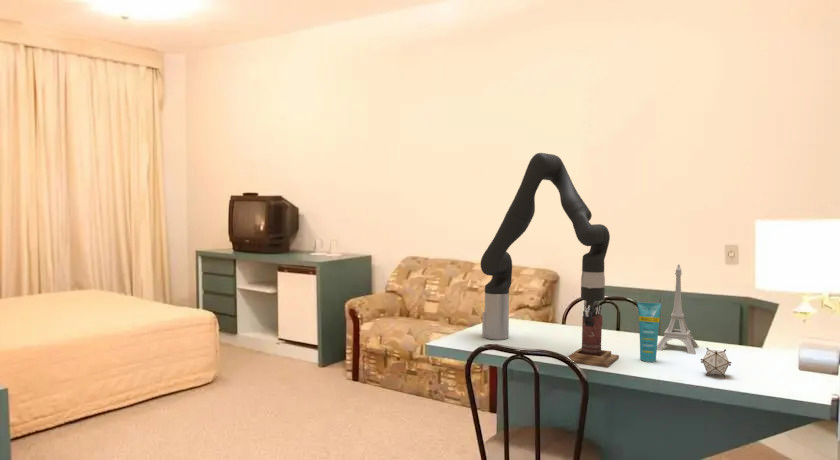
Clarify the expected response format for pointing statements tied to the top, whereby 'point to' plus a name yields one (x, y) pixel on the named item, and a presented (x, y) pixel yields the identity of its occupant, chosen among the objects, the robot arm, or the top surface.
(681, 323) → the eiffel tower
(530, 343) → the top surface
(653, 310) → the tube
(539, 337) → the top surface
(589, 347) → the can
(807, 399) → the top surface
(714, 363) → the game die
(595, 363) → the coaster plate
